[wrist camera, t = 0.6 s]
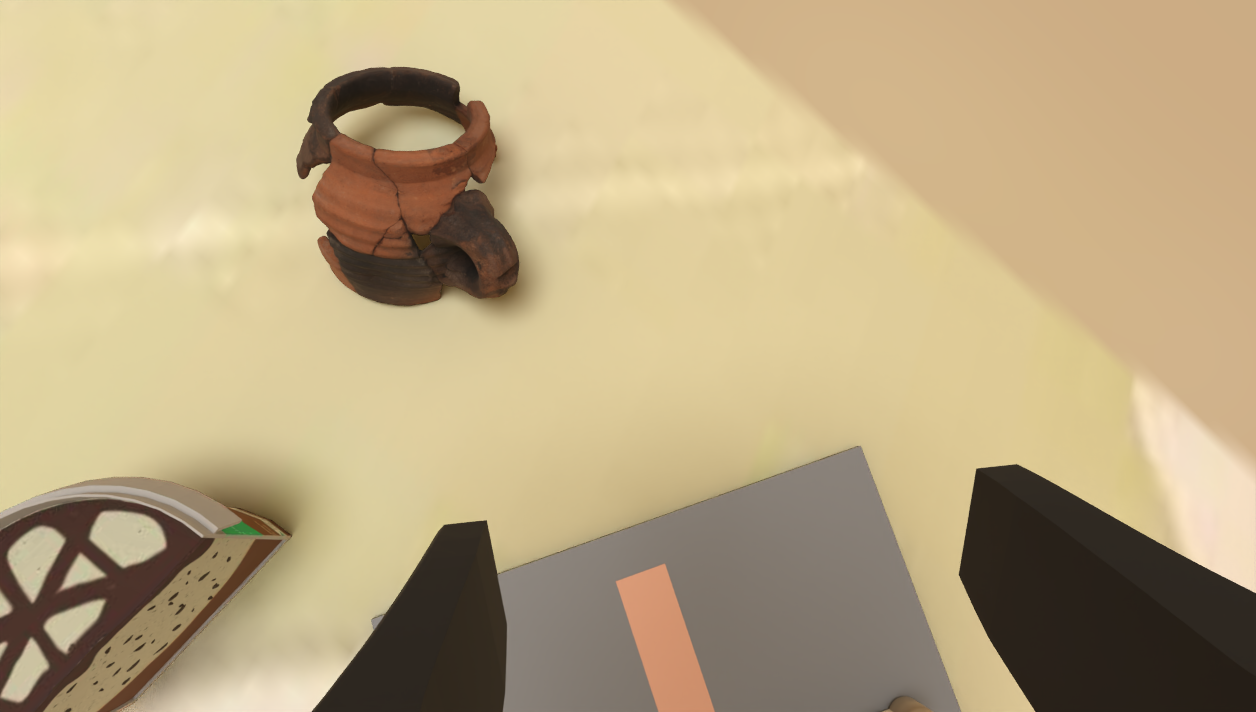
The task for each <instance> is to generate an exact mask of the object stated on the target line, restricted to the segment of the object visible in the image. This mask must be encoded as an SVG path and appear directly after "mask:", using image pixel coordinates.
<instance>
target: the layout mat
mask: <svg viewBox="0 0 1256 712" xmlns="http://www.w3.org/2000/svg"><path fill="white" fill-rule="evenodd" d="M497 575H498V581H499V586H500V591H501V596H502V601H503V606H504V611H505V616H506V621H507V655H506V686H505V699H504V706H503V712H883V711H885V710H888V709H889V708H890V706H891V704H892V702H893V701H894V700H896V699H897V698H899V697H903V696H906V697H911V698H913V699H914V700H916V701H917V702H919V703H921V704H922V705H924V706H925V707H927V708H928V709H930V710H931V711H933V712H961V710H960V707H959V705H958V702H957V699H956V697H955V694H954V692H953V689H952V686H951V684H950V681H949V678H948V676H947V673H946V670H945V668H944V665H943V662H942V660H941V657H940V655H939V652H938V649H937V647H936V644H935V641H934V639H933V636H932V633H931V631H930V628H929V625H928V623H927V620H926V617H925V615H924V612H923V610H922V607H921V604H920V602H919V599H918V596H917V594H916V591H915V588H914V586H913V583H912V580H911V578H910V575H909V572H908V570H907V567H906V565H905V562H904V559H903V557H902V554H901V551H900V549H899V546H898V543H897V541H896V538H895V535H894V533H893V530H892V527H891V525H890V522H889V520H888V517H887V514H886V512H885V509H884V506H883V504H882V501H881V498H880V496H879V493H878V490H877V488H876V485H875V483H874V480H873V477H872V475H871V472H870V469H869V467H868V464H867V461H866V459H865V456H864V453H863V451H862V448H861V446H857V447H854V448H852V449H849V450H846V451H843V452H840V453H837V454H835V455H832V456H829V457H826V458H823V459H821V460H818V461H815V462H812V463H809V464H806V465H804V466H801V467H798V468H795V469H792V470H790V471H787V472H784V473H781V474H778V475H775V476H773V477H770V478H767V479H764V480H761V481H758V482H756V483H753V484H750V485H747V486H744V487H742V488H739V489H736V490H733V491H730V492H727V493H725V494H722V495H719V496H716V497H713V498H711V499H708V500H705V501H702V502H699V503H696V504H694V505H691V506H688V507H685V508H682V509H680V510H677V511H674V512H671V513H668V514H665V515H663V516H660V517H657V518H654V519H651V520H649V521H646V522H643V523H640V524H637V525H634V526H632V527H629V528H626V529H623V530H620V531H618V532H615V533H612V534H609V535H606V536H603V537H601V538H598V539H595V540H592V541H589V542H587V543H584V544H581V545H578V546H575V547H572V548H570V549H567V550H564V551H561V552H558V553H556V554H553V555H550V556H547V557H544V558H541V559H539V560H536V561H533V562H530V563H527V564H525V565H522V566H519V567H516V568H513V569H510V570H508V571H505V572H502V573H499V574H497ZM384 615H385V614H384ZM384 615H381V616H378V617H375V618H373V619H371V622H372V625H373V629H374V630H375V628H376V627H377V625H378V624H379V623H380V621H381V620H382V618H383V617H384Z"/></svg>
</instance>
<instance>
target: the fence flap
mask: <svg viewBox="0 0 1256 712" xmlns="http://www.w3.org/2000/svg"><path fill="white" fill-rule="evenodd" d="M883 712H933V711H931V710H930V709H928V708H927V707H925V706H924V705H922V704H921V703H919V702H917V701H916V700H914V699H913V698H911V697H906V696H903V697H899V698H897V699H896V700H894V701H893V702H892V704H891V706H890V708H889V709H888V710H885V711H883Z"/></svg>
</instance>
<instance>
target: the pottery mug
mask: <svg viewBox="0 0 1256 712" xmlns="http://www.w3.org/2000/svg"><path fill="white" fill-rule="evenodd" d="M459 92H460V86H459V83H458V81H456V80H455V79H453V78H450V77H447V76H446V75H442V74H439V73H435V72H431V71H428V70H424V69H417V68H410V67H391V68H385V67H381V68H368V69H365V70H361V71H355V72H351V73H348V74H345V75H343V76H340V77H338V78H335V79H334V80H332V81H331V82H329V83H328V84H326V85H325V86H324V88H323V89H321V90H320V91H319V93H318V94H317V96H316V98H315V99H314V100H313V101H312V106H311V109H310V113H309V116H308V118H307V121H308V122H310V123H312V125H311V127H310V128H309V130H308V132H307V133H306V135H305V137H304V139H303V143H302V146H301V149H300V152H299V154H298V156H297V159H296V161H297V171H298V175H299V177H300V178H301V179H305V178H306V177H307V176H308V175H309V172H310V170H311V168H314V167H315V166H317V165H320V164H323V163H324V164H328V163H331V164H330V166H329V167H328V168H327V170H326V171H325V172H324V173H323V177H322V179H321V180H320V181H319V183H318V185H317V187H316V190H315V192H314V193H313V196H312V200H313V202H314V207H315V211H316V215H317V217H318V218H319V219H320V220H321V221H322V222H323V223H324V224H325V225H326V226H327V227H328V228H329V230H328V231H327V236H328V238H329V239H328V238H327V237H326V236H322V237H320V238H319V239H318V245H319V248H320V250H321V253H322V255H323V256H324V258H325V259H326V261H327V262H328V263H329V264H330V267H331V269H332V271H333V272H334V274H335V275H336V277H337V278H338V279H339V280H340V281H341V282H342V283H343V284H344V285H345V286H347V287H348V288H350V289H351V290H353V291H355V292H357V293H358V294H359V295H361V296H363V297H366V298H368V299H372V300H374V301H377V302H380V303H387V304H393V305H404V306H409V305H415V304H422V303H428V302H432V301H435V300H438V299H440V297H441V292H440V291H441V290H442V285H443V284H445V285H447V286H454V287H457V288H460V289H462V290H464V291H466V292H468V293H469V294H470V295H472V296H474V297H477V298H481V299H482V298H495V297H500V296H501V295H503V294H505V293H506V292H507V290H508V289H509V288H510V287H511V286H513V285H515V284H516V282H517V277H518V270H519V257H518V252H517V249H516V246H515V244H514V242H513V240H512V238H511V236H510V235H509V233H508V232H507V230H506V229H505V228H504V226H503V225H502V224H501V223H500V222H499V221H498V220H497V219H495V218H494V209H493V207H492V206H491V204H490V202H489V201H488V199H487V197H486V195H485V194H484V193H482V192H481V191H479V190H468V191H465V187H466V186H467V182H468V180H469V178H470V177H472V178H473V179H474V180H475V181H476V182H478V183H484V182H485V181H486V179H487V177H488V174H489V172H490V169H491V165H492V163H493V161H494V158H495V157H496V151H497V146H496V144H495V137H494V134H493V132H492V130H491V129H490V116H489V114H488V111H487V109H486V107H485V105H484V103H483V102H481V101H470V102H469V103H468V105H467V106H465V105H464V104H462V103H461V102H460V101H459ZM378 103H383V104H384V105H388V106H418V107H425V108H428V109H431V110H434V111H437V112H439V113H441V114H443V115H445V116H447V117H448V118H451V119H453V120H455V121H456V122H458V123H460V124H462V125H463V127H464V128H465V131H466V132H465V133H464V134H463V135H462V136H461V137H460V138H458V139H457V140H456V141H455V142H454V143H452V144H448V145H445V146H442V147H438V148H433V149H427V150H419V151H391V150H384V149H375V148H373V147H371V146H368V145H364V144H362V143H360V142H357V141H355V140H353V139H351V138H349V137H348V136H346V135H344V134H341V133H340V132H339V131H338V129H337V128H336V126H335V125H334V124H333V122H334V121H335V120H336V119H337V118H339V117H340V116H342V115H344V114H346V113H348V112H350V111H354V110H358V109H363V108H367V107H370V106H373V105H376V104H378ZM412 234H417V235H427V234H429V235H430V240H431V242H432V243H431V244H430V245H429V246H428V247H426V248H425V249H424V250H419V248H418V246H417V245H416V243H415V241H414V239H413V238H412Z"/></svg>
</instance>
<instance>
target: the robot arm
mask: <svg viewBox="0 0 1256 712" xmlns="http://www.w3.org/2000/svg"><path fill="white" fill-rule="evenodd" d="M959 576H960V578H961V581H962V583H963V585H964V587H965V589H966V592H967V594H968V596H969V598H970V600H971V603H972V605H973V607H974V609H975V611H976V613H977V615H978V617H979V619H980V621H981V623H982V625H983V627H984V629H985V631H986V633H987V635H988V637H989V639H990V641H991V642H992V644H993V646H994V647H995V649H996V650H997V652H998V654H999V655H1000V657H1001V658H1002V660H1003V662H1004V663H1005V665H1006V666H1007V668H1008V669H1009V671H1010V673H1011V674H1012V676H1013V677H1014V679H1015V680H1016V682H1017V684H1018V685H1019V687H1020V688H1021V690H1022V691H1023V693H1024V695H1025V696H1026V698H1027V699H1028V701H1029V702H1030V704H1031V705H1032V707H1033V708H1034V710H1035V712H1256V593H1254V592H1252V591H1250V590H1248V589H1246V588H1244V587H1242V586H1240V585H1238V584H1236V583H1234V582H1232V581H1230V580H1228V579H1226V578H1224V577H1222V576H1221V575H1219V574H1217V573H1215V572H1213V571H1211V570H1209V569H1207V568H1205V567H1203V566H1201V565H1199V564H1197V563H1195V562H1193V561H1192V560H1190V559H1188V558H1186V557H1184V556H1182V555H1180V554H1178V553H1177V552H1175V551H1173V550H1171V549H1169V548H1167V547H1166V546H1164V545H1162V544H1160V543H1158V542H1156V541H1155V540H1153V539H1151V538H1149V537H1147V536H1146V535H1144V534H1142V533H1140V532H1138V531H1137V530H1135V529H1133V528H1131V527H1130V526H1128V525H1126V524H1124V523H1122V522H1121V521H1119V520H1117V519H1115V518H1114V517H1112V516H1110V515H1108V514H1107V513H1105V512H1103V511H1101V510H1100V509H1098V508H1096V507H1094V506H1093V505H1091V504H1089V503H1087V502H1086V501H1084V500H1082V499H1080V498H1079V497H1077V496H1075V495H1073V494H1072V493H1070V492H1068V491H1066V490H1064V489H1063V488H1061V487H1059V486H1057V485H1056V484H1054V483H1052V482H1050V481H1048V480H1046V479H1045V478H1043V477H1041V476H1039V475H1037V474H1035V473H1033V472H1031V471H1029V470H1027V469H1025V468H1023V467H1021V466H1019V465H1017V464H1016V465H1007V466H997V467H988V468H978V469H976V474H975V480H974V486H973V493H972V499H971V505H970V511H969V517H968V523H967V529H966V535H965V541H964V547H963V553H962V559H961V565H960V571H959ZM506 655H507V621H506V616H505V611H504V606H503V601H502V596H501V591H500V586H499V581H498V575H497V570H496V565H495V560H494V555H493V550H492V545H491V540H490V535H489V530H488V525H487V520H486V521H476V522H467V523H457V524H448V525H444V526H443V527H442V528H441V529H440V530H439V531H438V533H437V534H436V536H435V538H434V539H433V541H432V543H431V544H430V546H429V548H428V549H427V551H426V552H425V554H424V556H423V557H422V559H421V561H420V562H419V564H418V565H417V567H416V569H415V570H414V572H413V573H412V575H411V576H410V578H409V580H408V581H407V583H406V584H405V586H404V587H403V589H402V590H401V592H400V593H399V595H398V596H397V598H396V599H395V601H394V602H393V604H392V605H391V607H390V608H389V610H388V611H387V612H386V614H385V615H384V617H383V618H382V620H381V621H380V623H379V624H378V625H377V627H376V628H375V630H374V631H373V633H372V634H371V636H370V637H369V638H368V640H367V641H366V643H365V644H364V645H363V647H362V648H361V649H360V651H359V652H358V653H357V655H356V656H355V657H354V658H353V660H352V661H351V662H350V664H349V665H348V666H347V668H346V669H345V670H344V671H343V673H342V674H341V675H340V677H339V678H338V679H337V681H336V682H335V683H334V684H333V686H332V687H331V688H330V690H329V691H328V692H327V694H326V695H325V696H324V697H323V699H322V700H321V701H320V702H319V703H318V705H317V706H316V707H315V708H314V709H313V711H312V712H503V706H504V699H505V686H506Z"/></svg>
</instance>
